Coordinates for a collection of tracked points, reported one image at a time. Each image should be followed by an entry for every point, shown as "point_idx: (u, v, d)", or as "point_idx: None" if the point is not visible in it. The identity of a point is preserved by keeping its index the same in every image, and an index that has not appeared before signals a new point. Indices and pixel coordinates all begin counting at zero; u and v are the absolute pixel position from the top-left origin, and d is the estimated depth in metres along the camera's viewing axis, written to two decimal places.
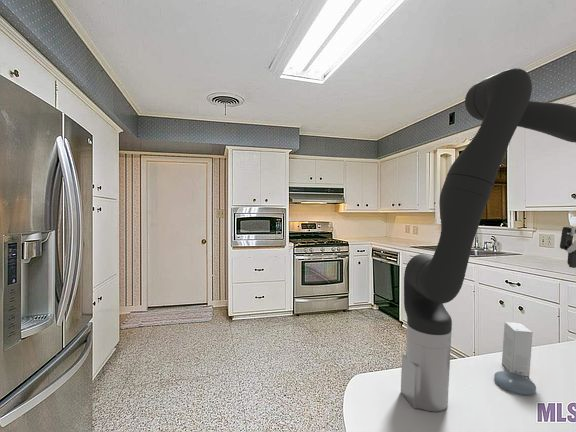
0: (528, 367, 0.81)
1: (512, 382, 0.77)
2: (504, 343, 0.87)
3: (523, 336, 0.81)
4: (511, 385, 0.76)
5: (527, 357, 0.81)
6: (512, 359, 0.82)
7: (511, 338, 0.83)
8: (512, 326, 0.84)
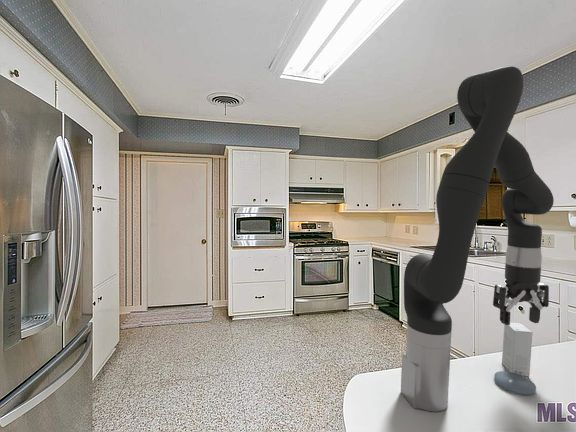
0: (528, 367, 0.81)
1: (512, 382, 0.77)
2: (504, 343, 0.87)
3: (523, 336, 0.81)
4: (511, 385, 0.76)
5: (527, 357, 0.81)
6: (512, 359, 0.82)
7: (511, 338, 0.83)
8: (512, 326, 0.84)
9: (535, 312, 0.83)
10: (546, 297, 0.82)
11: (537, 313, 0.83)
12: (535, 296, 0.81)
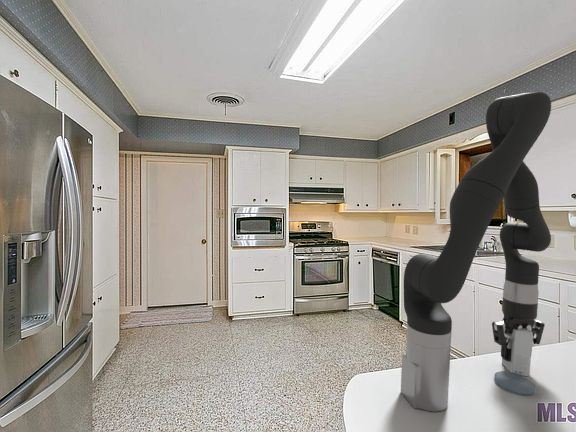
0: (528, 367, 0.81)
1: (512, 382, 0.77)
2: None
3: (523, 336, 0.81)
4: (511, 385, 0.76)
5: (527, 357, 0.81)
6: (512, 359, 0.82)
7: None
8: None
9: None
10: (540, 335, 0.83)
11: None
12: None
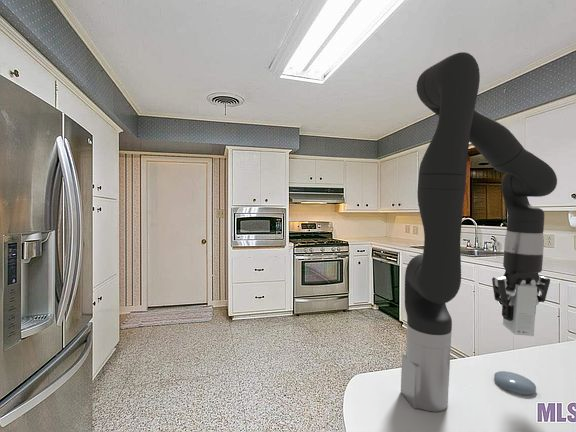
0: (532, 326, 0.73)
1: (512, 382, 0.77)
2: None
3: (527, 291, 0.73)
4: (511, 385, 0.76)
5: (531, 315, 0.73)
6: (514, 318, 0.74)
7: None
8: None
9: None
10: (545, 292, 0.76)
11: None
12: None
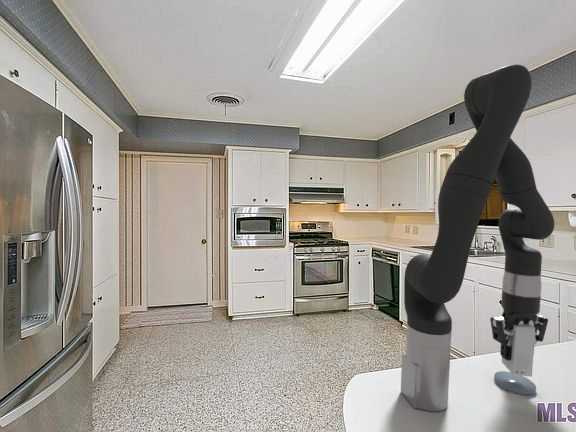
0: (530, 366, 0.74)
1: (512, 382, 0.77)
2: None
3: (525, 332, 0.74)
4: (511, 385, 0.76)
5: (529, 355, 0.74)
6: (513, 358, 0.75)
7: None
8: None
9: None
10: (543, 331, 0.76)
11: None
12: None
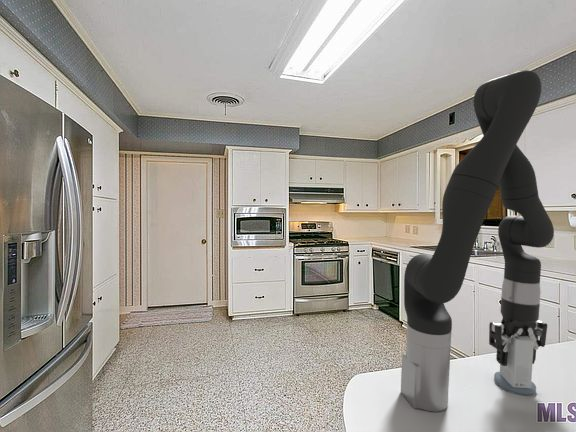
0: (529, 379, 0.74)
1: None
2: None
3: (524, 345, 0.74)
4: None
5: (528, 368, 0.74)
6: (512, 371, 0.75)
7: (510, 347, 0.76)
8: None
9: None
10: (544, 337, 0.76)
11: (533, 353, 0.77)
12: (532, 335, 0.75)
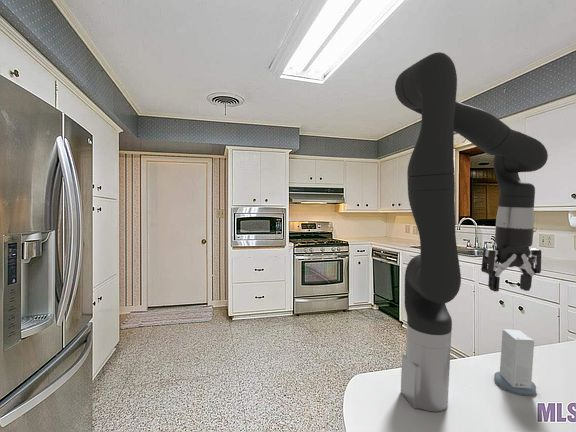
0: (530, 379, 0.74)
1: None
2: (502, 352, 0.80)
3: (524, 345, 0.74)
4: None
5: (528, 368, 0.74)
6: (512, 371, 0.75)
7: (511, 347, 0.76)
8: (512, 334, 0.77)
9: (526, 279, 0.78)
10: (539, 263, 0.77)
11: (528, 280, 0.77)
12: (526, 261, 0.76)
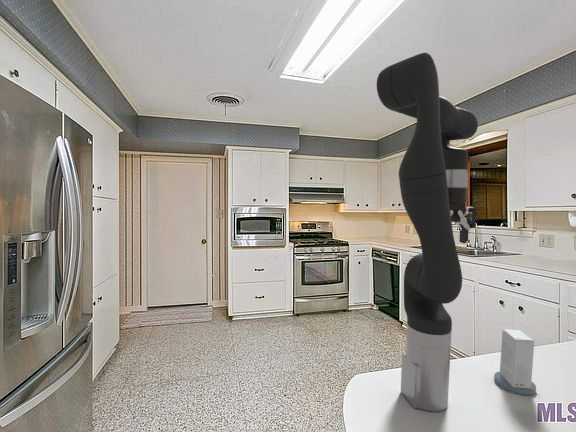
0: (530, 379, 0.74)
1: None
2: (502, 352, 0.80)
3: (524, 345, 0.74)
4: None
5: (528, 368, 0.74)
6: (512, 371, 0.75)
7: (511, 347, 0.76)
8: (512, 334, 0.77)
9: (464, 233, 0.90)
10: (474, 219, 0.89)
11: (465, 233, 0.89)
12: (462, 216, 0.88)
